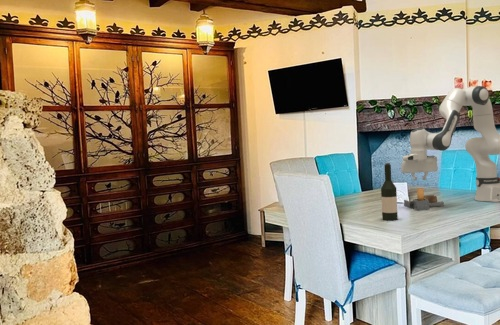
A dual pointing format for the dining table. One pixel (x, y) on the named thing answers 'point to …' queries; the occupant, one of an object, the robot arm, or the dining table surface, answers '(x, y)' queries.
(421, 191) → the round peg
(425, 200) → the square tube sleeve
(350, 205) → the dining table surface
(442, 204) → the bay
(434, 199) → the crate
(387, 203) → the wine bottle
